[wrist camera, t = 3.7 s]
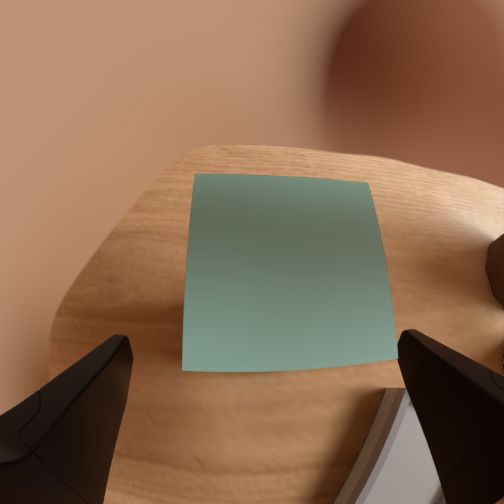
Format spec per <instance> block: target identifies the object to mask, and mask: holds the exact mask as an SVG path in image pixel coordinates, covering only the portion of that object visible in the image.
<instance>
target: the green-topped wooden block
mask: <svg viewBox="0 0 504 504" xmlns="http://www.w3.org/2000/svg"><path fill="white" fill-rule="evenodd" d="M393 359H398V349H397V337H396V327H395V318H394V310H393V303H392V295H391V289H390V282H389V276H388V270H387V264H386V259H385V253H384V248H383V243H382V238H381V234H380V229H379V225H378V220H377V216H376V212H375V207H374V203H373V199H372V195H371V192H370V188H369V184H368V183H361V182H351V181H341V180H330V179H317V178H304V177H288V176H268V175H239V174H195V176H194V184H193V194H192V203H191V213H190V224H189V235H188V248H187V261H186V277H185V294H184V317H183V351H182V371H204V372H268V371H291V370H307V369H320V368H331V367H341V366H350V365H358V364H366V363H373V362H380V361H386V360H393Z"/></svg>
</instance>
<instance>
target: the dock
mask: <svg viewBox="0 0 504 504" xmlns="http://www.w3.org/2000/svg"><path fill="white" fill-rule="evenodd" d="M333 504H446V502H445V498H444V495H443V491H442V488H441V483H440V481H439V477H438V474H437V471H436V468H435V465H434V462H433V459H432V456H431V453H430V450H429V447H428V444H427V442H426V439H425V436H424V433H423V431H422V428H421V425H420V423H419V420H418V417H417V415H416V412H415V410H414V407H413V405H412V402H411V400H410V397H409V395H408V392H407V389H406V388H386V391H385V394H384V396H383V399H382V402H381V404H380V407H379V410H378V412H377V415H376V417H375V420H374V422H373V425H372V427H371V430H370V432H369V434H368V436H367V439H366V441H365V443H364V445H363V448H362V450H361V452H360V454H359V456H358V458H357V460H356V462H355V464H354V466H353V468H352V470H351V472H350V474H349V476H348V478H347V480H346V482H345V484H344V486H343V488H342V489H341V491H340V493H339V495H338V496H337V498H336V500H335V502H334V503H333Z"/></svg>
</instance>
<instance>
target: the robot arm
mask: <svg viewBox="0 0 504 504" xmlns="http://www.w3.org/2000/svg"><path fill="white" fill-rule="evenodd" d="M397 349H398V359H397V360H398V364H399V367H400V370H401V373H402V377H403V380H404V383H405V386H406V389H407V392H408V395H409V397H410V400H411V402H412V405H413V407H414V410H415V412H416V415H417V417H418V420H419V423H420V425H421V428H422V431H423V433H424V436H425V439H426V442H427V444H428V447H429V450H430V453H431V456H432V459H433V462H434V465H435V468H436V471H437V474H438V477H439V481H440V483H441V488H442V491H443V495H444V498H445V502H446V504H504V376H502V375H500V374H498V373H496V372H494V371H492V370H490V369H488V368H487V367H485V366H483V365H481V364H479V363H477V362H475V361H473V360H472V359H470V358H468V357H466V356H464V355H462V354H460V353H458V352H457V351H455V350H453V349H451V348H449V347H447V346H445V345H443V344H441V343H440V342H438V341H436V340H434V339H432V338H430V337H428V336H426V335H424V334H423V333H421V332H419V331H417V330H415V329H408V330H404V331H403V332H402V333H401V336H400V339H399V341H398V344H397ZM132 365H133V354H132V350H131V346H130V342H129V339H128V337H127V336H126V335H119V334H115V335H113V336H112V337H110V338H109V339H108V340H106V341H105V342H103V343H102V344H101V345H99V346H98V347H96V348H95V349H94V350H92V351H91V352H90V353H88V354H87V355H85V356H84V357H83V358H81V359H80V360H79V361H77V362H76V363H74V364H73V365H72V366H70V367H69V368H68V369H66V370H65V371H64V372H62V373H61V374H59V375H58V376H57V377H55V378H54V379H53V380H51V381H50V382H49V383H47V384H46V385H45V386H43V387H42V388H40V390H38V391H36V392H35V393H34V394H32V395H31V396H30V397H28V398H27V399H25V400H24V401H22V402H21V403H20V404H18V405H16V406H15V407H13V408H12V409H10V410H8V411H7V412H5V413H4V414H2V415H0V504H103V502H104V496H105V491H106V486H107V481H108V476H109V471H110V467H111V462H112V458H113V453H114V449H115V445H116V441H117V437H118V433H119V429H120V425H121V421H122V417H123V413H124V410H125V406H126V401H127V396H128V389H129V383H130V376H131V370H132Z"/></svg>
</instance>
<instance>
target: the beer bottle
mask: <svg viewBox="0 0 504 504" xmlns="http://www.w3.org/2000/svg"><path fill="white" fill-rule="evenodd" d="M486 271H487V274H488V277H489V281H490V284H491V287H492V291H493V295H494V296H495V297H496V298H497V299H498V300H499V301H500V302H501V303H502V304H503V305H504V234H502V235H501V236H500V237H499V238H497V239H496V240H495V241H494V242H492V243H491V244H490V246H489V250H488V257H487V263H486Z"/></svg>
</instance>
